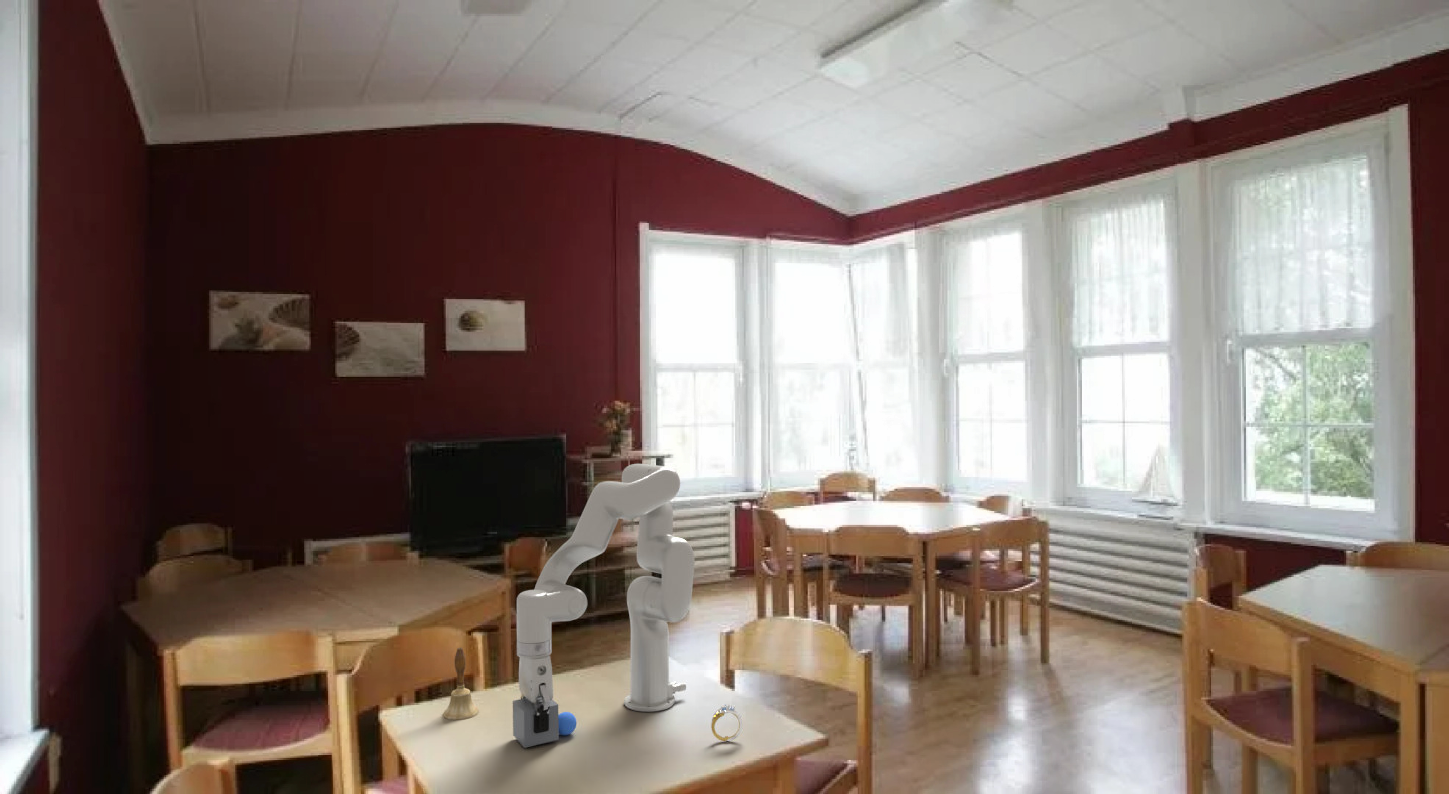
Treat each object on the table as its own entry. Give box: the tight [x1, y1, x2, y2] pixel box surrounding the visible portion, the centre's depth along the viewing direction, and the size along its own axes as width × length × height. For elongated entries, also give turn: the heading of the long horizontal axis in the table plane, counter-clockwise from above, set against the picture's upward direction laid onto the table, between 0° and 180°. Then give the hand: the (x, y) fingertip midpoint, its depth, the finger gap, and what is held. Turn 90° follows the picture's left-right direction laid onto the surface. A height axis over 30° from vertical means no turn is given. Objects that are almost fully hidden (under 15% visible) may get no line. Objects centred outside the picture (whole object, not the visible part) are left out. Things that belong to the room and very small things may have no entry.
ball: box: [558, 711, 577, 736], centre depth 195 cm, size 5×5×5 cm
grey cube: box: [512, 697, 560, 749], centre depth 191 cm, size 8×8×8 cm
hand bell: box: [442, 647, 479, 721], centre depth 208 cm, size 8×8×16 cm
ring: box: [710, 704, 743, 742], centre depth 191 cm, size 7×3×8 cm, turn 92°
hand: (534, 725), depth 191 cm, fingers closed on grey cube, 8 cm apart
